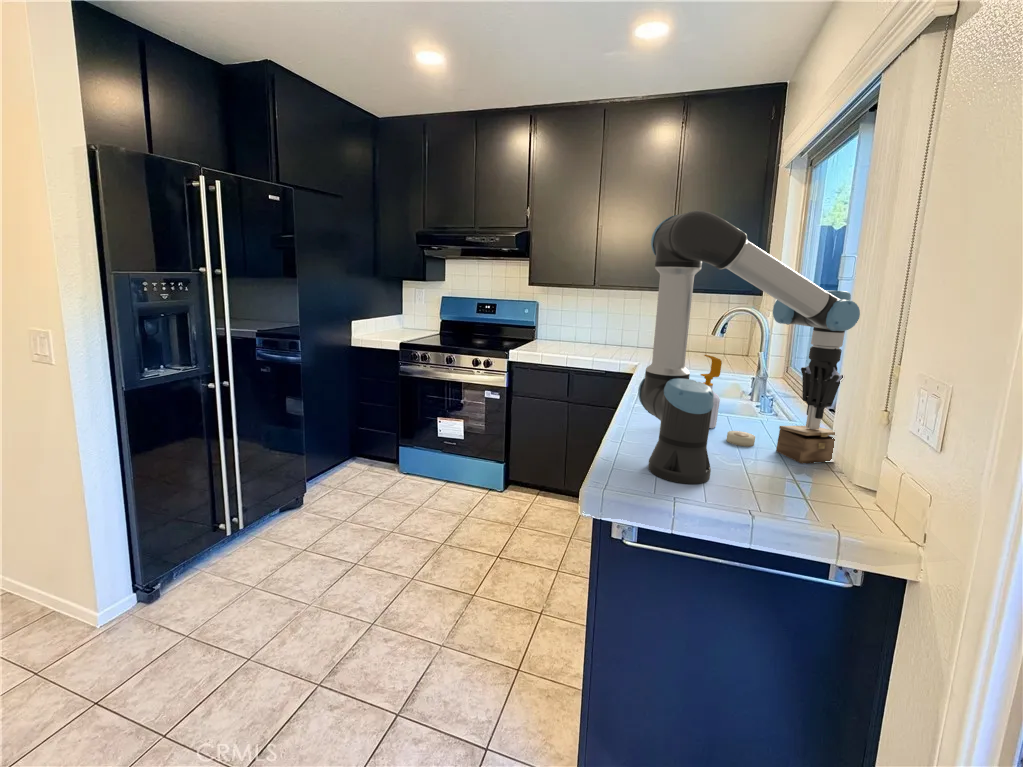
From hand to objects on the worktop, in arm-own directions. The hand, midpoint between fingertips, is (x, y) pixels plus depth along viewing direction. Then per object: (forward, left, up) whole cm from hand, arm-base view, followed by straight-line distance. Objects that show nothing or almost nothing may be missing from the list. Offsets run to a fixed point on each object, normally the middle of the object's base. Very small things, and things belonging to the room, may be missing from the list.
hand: (812, 427), depth 143 cm
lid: (0, 0, -2) cm, 2 cm away
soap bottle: (-14, +32, -9) cm, 36 cm away
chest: (0, 0, -9) cm, 9 cm away
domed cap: (-12, +14, -9) cm, 20 cm away
